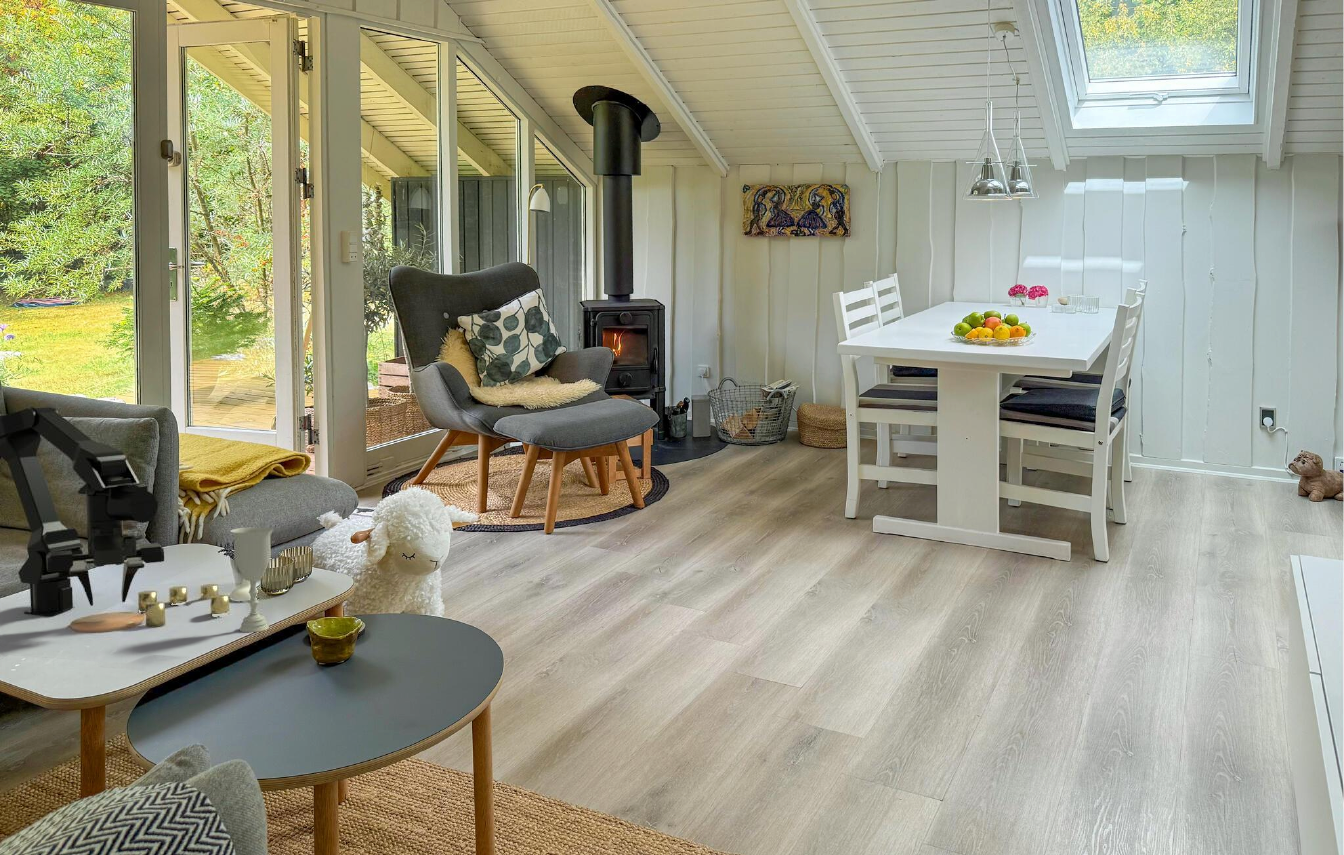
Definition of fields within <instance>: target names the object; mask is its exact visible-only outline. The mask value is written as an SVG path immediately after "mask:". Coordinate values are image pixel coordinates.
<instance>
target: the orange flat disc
mask: <svg viewBox="0 0 1344 855" xmlns="http://www.w3.org/2000/svg"><path fill="white" fill-rule="evenodd" d="M144 619H145V620H146V615H144V613H142V614H141V613H139V612H134V611H132V612H131V611H118V612H117V611H116V612H113V611H112V612H106V613H105V612H103V613H97V614H90V615H86V616H82V617H79V618H76V619H73V620H72V621H71V622H70V630H72V631H74V632H78V633H90V634H91V633H92V634H93V633H108V632H115V631H116V632H117V631H121V630H122V631H123V630H126V629H131V628H134V627H137V626H140V625H142V624H143V623H142V622H143V621H144ZM144 622H145V621H144ZM141 623H142V624H141Z"/></svg>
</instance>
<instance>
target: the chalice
mask: <svg viewBox="0 0 1344 855" xmlns="http://www.w3.org/2000/svg"><path fill="white" fill-rule="evenodd" d="M273 531H274V528H273V527H267V526H250V527H249V526H248V527H240V528H233V529H231V530H230V533H231V534H232V536H233V555H234V556H233V558H234V560H235V563H236V566H237V569H238V570H239V572H240V574H241V576H242V577H243V578H244V579H245V580H247V581H250V585H251V586H250V591H249V593H250V596H251V599H250V601H249V602H247V603H248V604H249V606H250V612H249V613H248V615H246V616H244V618H243V619H242V622H241V624H240V627H239V629H240V632H243V633H255V632H256V633H258V632H262V631H266V630H269V629H270V626H269V625H268V624H267V619H266V617H265V616H264V615H263V614H259V612H258V609H257V606H258V603H260V601H259V599H258V600H257V598H256V595H257V593H258V590H257V588H256V587H257V582H258V581H259V580H262V579H263V576H264V574H265V572H266V569H267V568H268V565H269V562H270V560H271V556H272V554H271V553H272V552H271V548H272V547H271V535H272V533H273Z"/></svg>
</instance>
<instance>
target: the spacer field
mask: <svg viewBox="0 0 1344 855" xmlns="http://www.w3.org/2000/svg"><path fill="white" fill-rule="evenodd" d="M168 593H169V594H168V596H169V598H168V600H169V604H170V603H171V604H172V603H173V604H176V603H182V602H186V601H187V600H188V587H187V586H183V585H182V586H180V585H179V586H173V587H169V589H168ZM137 594H138V595H137V597H138V599H137V601H138V611H139V610H140V611H145V613H144V614H145V627H146V628H158V627H159V628H160V627H163V625H164V626H165V625H166V607H165V605H166V603H165V602H164V601H158V592H157V591H156V590H144V591H139V592H137ZM203 598H204V599H203ZM208 598H210V599H208ZM200 599H202V600H210V614H211V613H212V614H222V613H227V612H228V611H229V612H230V595H229V594H219V584H215V583H211V584H208V583H207V584H203V585H200Z"/></svg>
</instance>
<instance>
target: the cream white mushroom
mask: <svg viewBox="0 0 1344 855" xmlns="http://www.w3.org/2000/svg"><path fill="white" fill-rule="evenodd" d="M250 586H251V585H250V581H247V580H245V579H244V577H243V578H242V582H241V583H240V585H238V586H237V587H235V588H233V589H232V591H231V592H230V595H229V599H230V598H232V599H234V600H250V599H251V596H250V593H249V591H250ZM256 596H257V595H256Z"/></svg>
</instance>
